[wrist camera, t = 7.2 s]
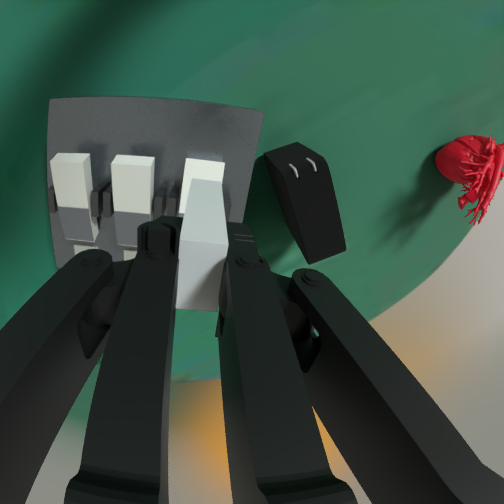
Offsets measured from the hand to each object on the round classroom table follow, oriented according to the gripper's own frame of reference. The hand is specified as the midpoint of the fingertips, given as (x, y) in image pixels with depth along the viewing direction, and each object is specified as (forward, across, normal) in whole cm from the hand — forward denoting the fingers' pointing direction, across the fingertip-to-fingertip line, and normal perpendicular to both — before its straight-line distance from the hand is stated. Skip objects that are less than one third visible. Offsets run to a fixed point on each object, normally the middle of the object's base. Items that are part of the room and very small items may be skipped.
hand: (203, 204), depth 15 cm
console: (+19, -6, -5) cm, 20 cm away
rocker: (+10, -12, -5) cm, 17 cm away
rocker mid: (+10, -6, -5) cm, 13 cm away
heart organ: (+19, +34, +7) cm, 40 cm away
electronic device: (+19, +10, -3) cm, 22 cm away
